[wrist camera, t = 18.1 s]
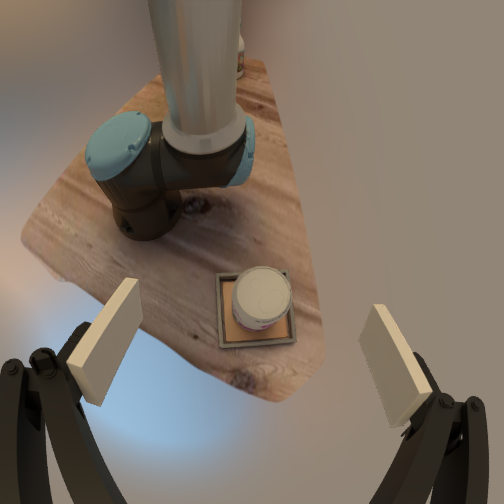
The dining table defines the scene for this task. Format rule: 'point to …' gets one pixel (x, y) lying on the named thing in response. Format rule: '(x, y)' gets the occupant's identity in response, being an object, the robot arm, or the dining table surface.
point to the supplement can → (260, 298)
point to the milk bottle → (240, 57)
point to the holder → (239, 333)
